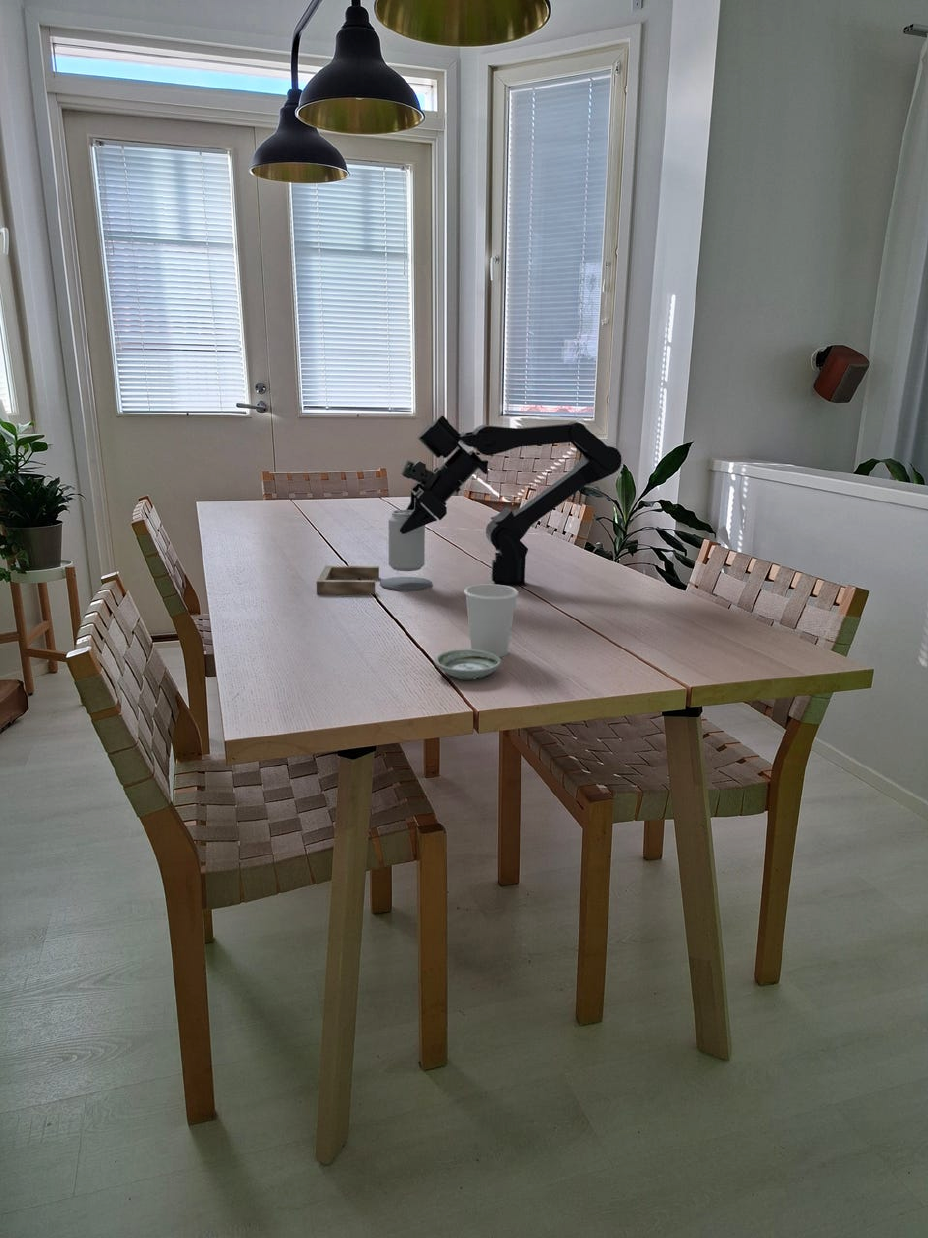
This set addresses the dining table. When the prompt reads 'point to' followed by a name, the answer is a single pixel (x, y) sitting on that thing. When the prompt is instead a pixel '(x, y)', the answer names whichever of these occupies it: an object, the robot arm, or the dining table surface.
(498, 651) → the dixie cup
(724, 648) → the dining table surface
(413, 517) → the robot arm
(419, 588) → the pad
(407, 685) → the dining table surface
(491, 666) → the saucer
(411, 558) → the can
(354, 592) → the wooden frame
